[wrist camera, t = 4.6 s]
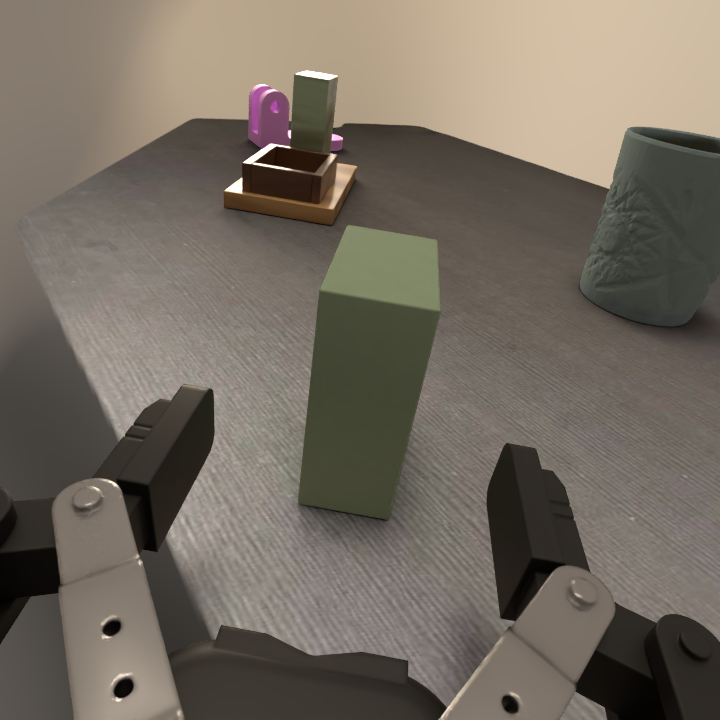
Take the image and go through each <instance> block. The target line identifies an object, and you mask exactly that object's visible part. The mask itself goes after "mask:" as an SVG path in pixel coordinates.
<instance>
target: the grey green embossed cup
mask: <svg viewBox="0 0 720 720" xmlns="http://www.w3.org/2000/svg"><path fill="white" fill-rule="evenodd" d="M719 274H720V138H716V137H711V136H706V135H700V134H695V133H690V132H683V131H676V130H670V129H662V128H652V127H630V128H628V129H627V131H626V132H625V136H624V139H623V143H622V146H621V150H620V153H619V157H618V160H617V164H616V167H615V171H614V176H613V182H612V184H611V186H610V190H609V192H608V194H607V197H606V203H605V204H604V206H603V209H602V217H601V218H600V219H599V222H598V228H597V232H596V233H595V235H594V241H593V243H592V245H591V249H590V253H589V256H588V259H587V261H586V264H585V267H584V270H583V273H582V276H581V279H580V290H581V291H582V293H583V294H584V295H585V296H586V297H587V298H588V299H589V300H590V301H592V302H593V303H595V304H596V305H598V306H600V307H602V308H603V309H605V310H607V311H609V312H612V313H614V314H616V315H619V316H621V317H624V318H627V319H630V320H634V321H637V322H641V323H645V324H651V325H657V326H669V327H674V326H679V325H683V324H687V322H688V321H689V320H690V319H691V318H692V317H693V315H694V314H695V312H696V310H697V309H698V307H699V306H700V304H701V303H702V301H703V300H704V298H705V297H706V295H707V293H708V290H709V285H711V284H712V283H713V282H715V280H716V279H717V276H718V275H719Z"/></svg>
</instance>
